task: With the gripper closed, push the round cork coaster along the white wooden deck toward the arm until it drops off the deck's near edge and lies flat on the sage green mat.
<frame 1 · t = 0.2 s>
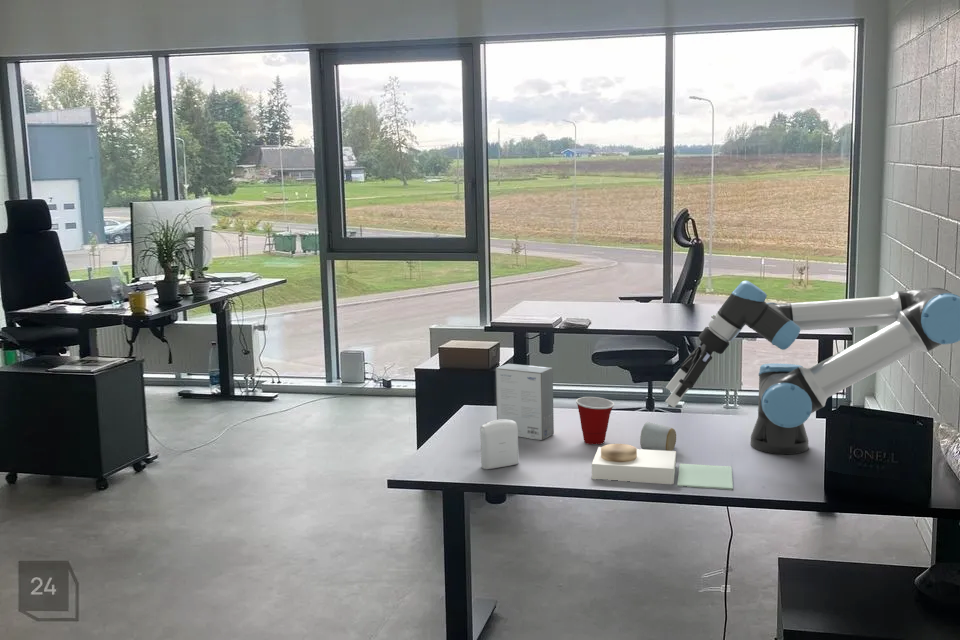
hand: (669, 397, 243), 16 cm above the table, tool tilted 35°, fingers open, 13 cm apart
plastic cup: (595, 442, 259), on the table
photo printer: (499, 466, 241), on the table
sage mat: (705, 476, 229), on the table
ceramic mug: (659, 450, 251), on the table
hard drive box: (525, 434, 268), on the table
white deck: (634, 472, 233), on the table
cork coaster: (618, 456, 233), point 4 cm above the table, touching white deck
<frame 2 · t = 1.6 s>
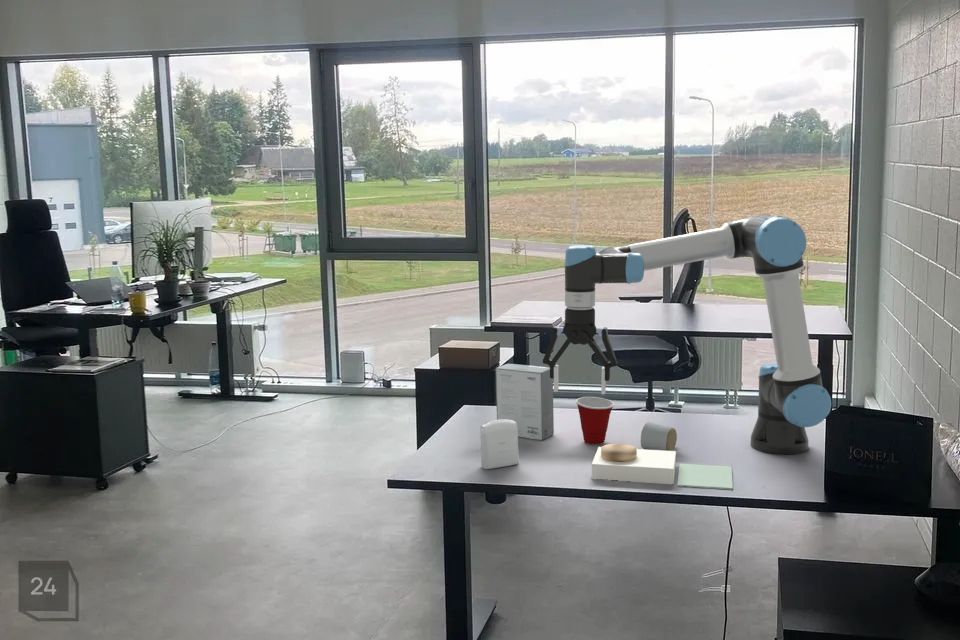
hand: (579, 392, 233), 20 cm above the table, tool pointing down, fingers open, 11 cm apart
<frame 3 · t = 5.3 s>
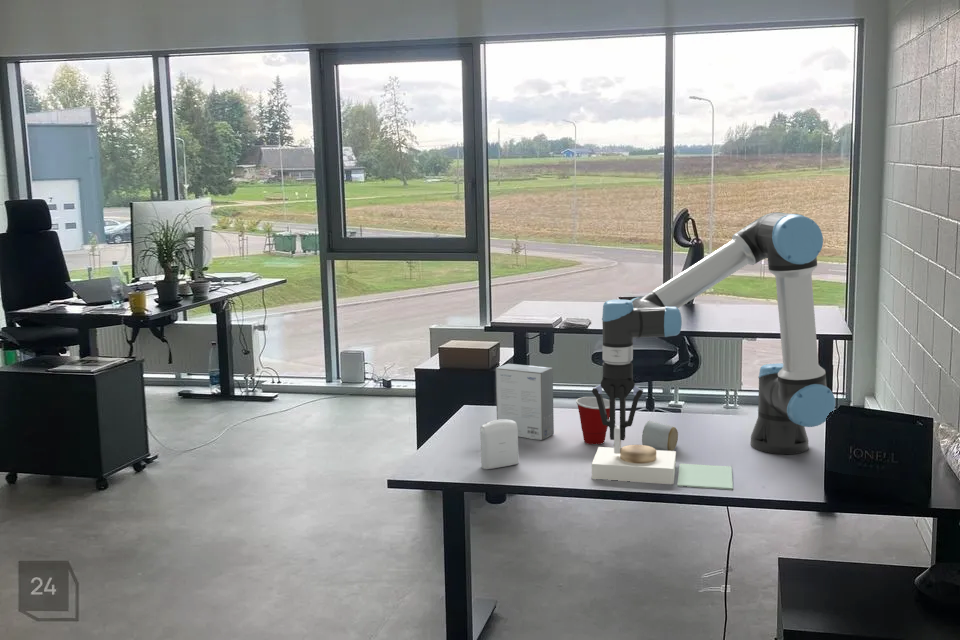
hand: (617, 451, 233), 5 cm above the table, tool pointing down, fingers closed
cork coaster: (638, 457, 232), point 4 cm above the table, touching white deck
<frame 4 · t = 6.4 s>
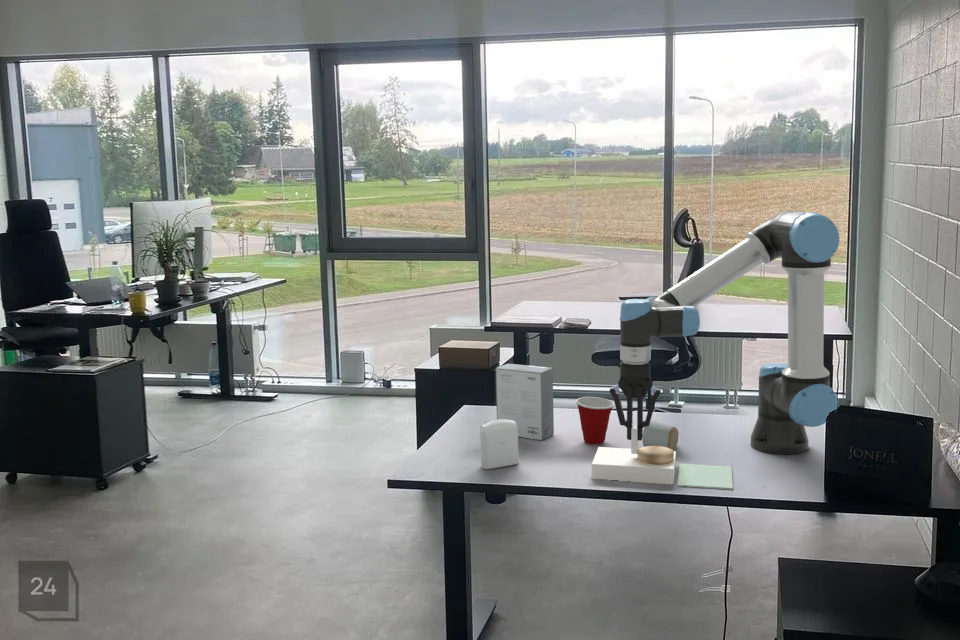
hand: (634, 452, 232), 5 cm above the table, tool pointing down, fingers closed
cork coaster: (655, 458, 231), point 4 cm above the table, touching gripper, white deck
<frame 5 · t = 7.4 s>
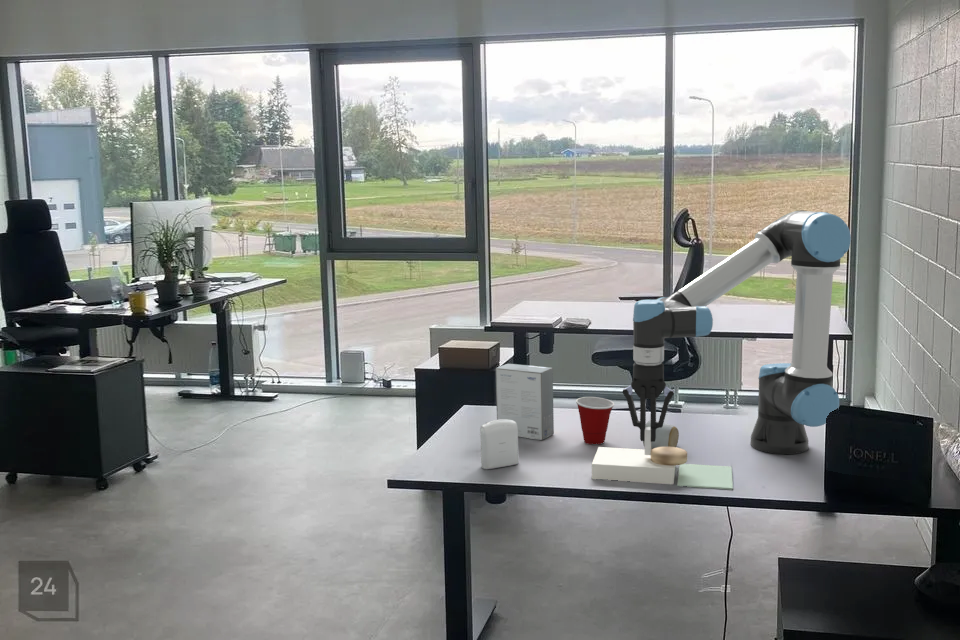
hand: (647, 453, 231), 5 cm above the table, tool pointing down, fingers closed
cork coaster: (668, 459, 230), point 4 cm above the table, touching gripper, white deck
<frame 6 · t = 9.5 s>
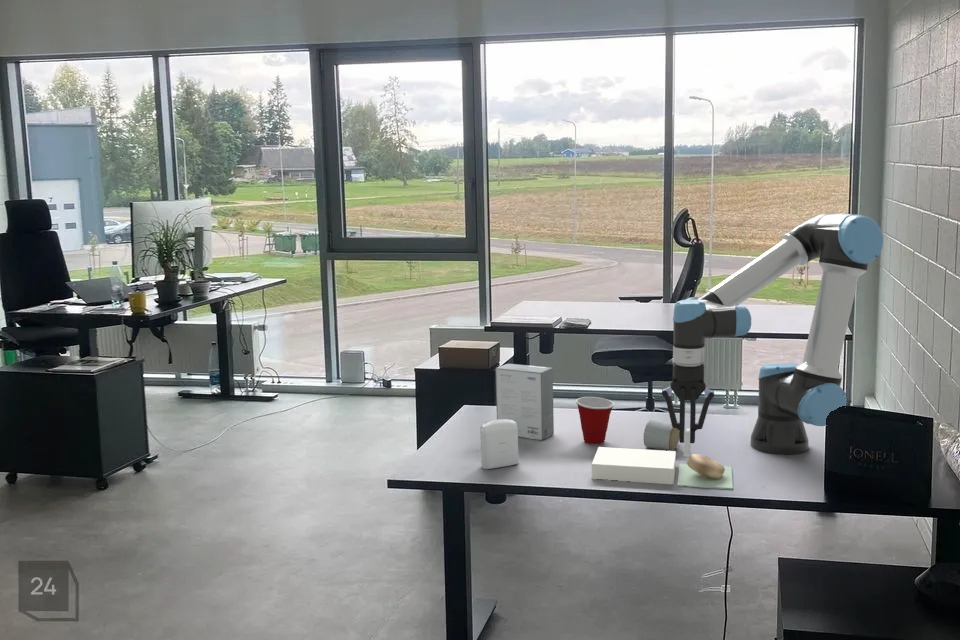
hand: (686, 455, 229), 5 cm above the table, tool pointing down, fingers closed
cork coaster: (704, 469, 228), point 2 cm above the table, tilted 19°, touching gripper, sage mat
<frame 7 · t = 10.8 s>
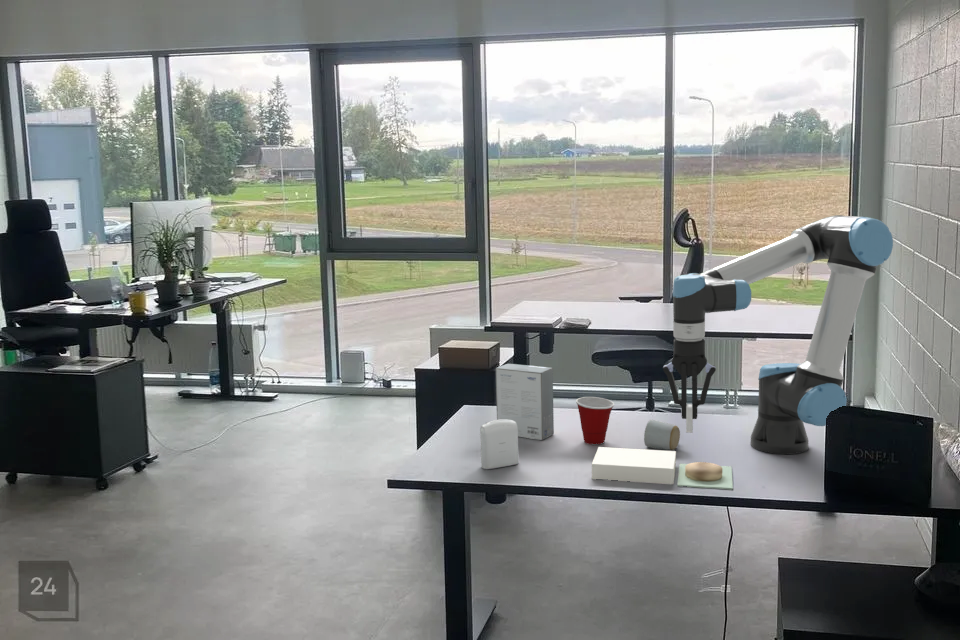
hand: (689, 431, 228), 12 cm above the table, tool pointing down, fingers closed
cork coaster: (703, 475, 229), resting on sage mat
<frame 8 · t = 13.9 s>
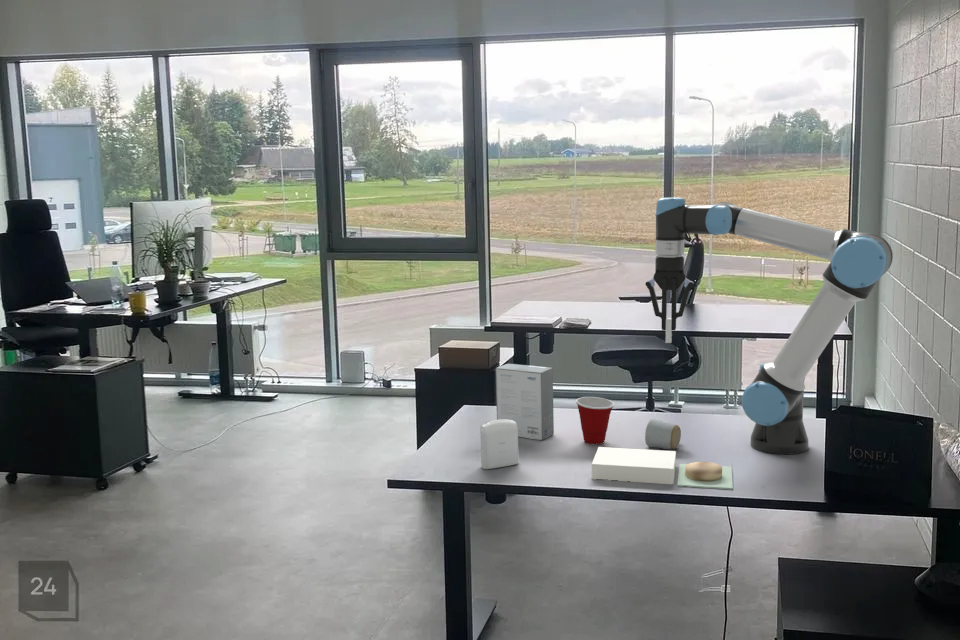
hand: (668, 341, 249), 29 cm above the table, tool pointing down, fingers closed
at the end: cork coaster inside the target area (0.4 cm from its centre), point 0.5 cm above the table; cork coaster point 0.5 cm above the table; cork coaster tilted 2° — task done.
